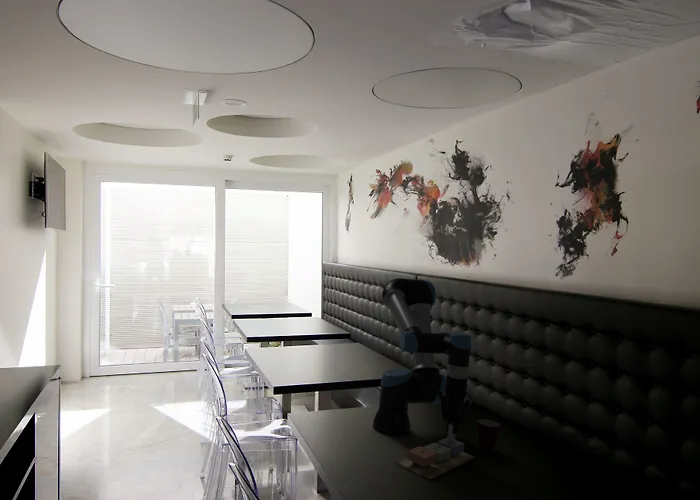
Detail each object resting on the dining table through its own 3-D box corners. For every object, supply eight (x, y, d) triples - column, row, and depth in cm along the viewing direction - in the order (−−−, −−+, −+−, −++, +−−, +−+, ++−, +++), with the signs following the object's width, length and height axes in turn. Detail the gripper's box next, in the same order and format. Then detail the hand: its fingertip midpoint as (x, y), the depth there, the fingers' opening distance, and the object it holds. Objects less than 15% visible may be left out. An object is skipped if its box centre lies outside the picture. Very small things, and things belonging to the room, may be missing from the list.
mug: (497, 458, 181) (500, 430, 181) (474, 453, 183) (477, 426, 183) (497, 447, 191) (499, 421, 191) (475, 443, 193) (477, 417, 193)
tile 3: (436, 449, 179) (437, 441, 179) (447, 444, 185) (447, 437, 185) (453, 455, 175) (454, 447, 175) (463, 451, 180) (464, 443, 180)
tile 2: (422, 455, 173) (423, 446, 173) (433, 450, 178) (434, 442, 178) (439, 462, 168) (440, 453, 168) (450, 457, 173) (451, 449, 173)
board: (395, 464, 168) (396, 456, 168) (440, 445, 188) (441, 438, 188) (430, 479, 158) (431, 471, 158) (474, 458, 178) (474, 451, 178)
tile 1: (407, 459, 166) (407, 450, 166) (419, 454, 171) (419, 446, 171) (424, 466, 161) (425, 458, 161) (436, 461, 167) (437, 453, 167)
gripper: (436, 373, 181) (430, 438, 181) (467, 382, 172) (461, 450, 172) (447, 371, 187) (441, 433, 187) (478, 379, 178) (472, 445, 178)
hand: (451, 441), depth 180 cm, fingers closed
